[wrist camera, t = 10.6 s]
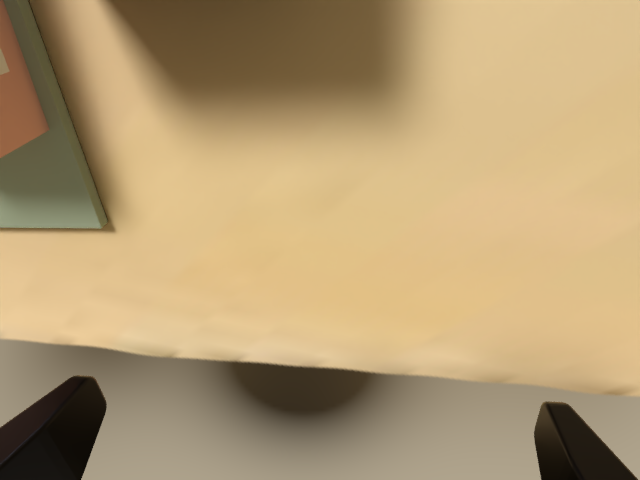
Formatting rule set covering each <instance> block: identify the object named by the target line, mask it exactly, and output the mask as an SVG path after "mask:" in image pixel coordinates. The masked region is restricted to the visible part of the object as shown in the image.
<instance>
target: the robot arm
mask: <svg viewBox="0 0 640 480" xmlns="http://www.w3.org/2000/svg"><path fill="white" fill-rule="evenodd" d="M105 412H106V400H105V397H104V395H103V393H102V391H101V389H100V387H99V385H98V383H97V381H96V379H95V378H94V377H91V376H80V375H77V376H73V377H71V378H69V379H68V380H66V381H65V382H64V383H62V384H61V385H59V386H58V387H57V388H55V389H54V390H52V391H51V392H49V393H48V394H47V395H45V396H44V397H42V398H41V399H40V400H38V401H37V402H36V403H34V404H33V405H31V406H30V407H29V408H27V409H26V410H24V411H23V412H21V413H20V414H19V415H17V416H16V417H14V418H13V419H12V420H10V421H9V422H7V423H6V424H5V425H3V426H2V427H0V480H81V478H82V476H83V473H84V471H85V468H86V465H87V462H88V459H89V457H90V454H91V451H92V448H93V446H94V443H95V440H96V437H97V434H98V432H99V429H100V426H101V424H102V421H103V418H104V415H105ZM534 438H535V445H536V451H537V457H538V463H539V468H540V474H541V480H638V479H637V478H636V477H635V476H634V475H633V474H632V472H631V471H630V470H629V469H628V468H627V467H626V466H625V465H624V464H623V463H622V462H621V461H620V459H619V458H618V457H617V456H616V455H615V454H614V453H613V452H612V451H611V450H610V449H609V448H608V446H606V444H605V443H604V442H603V441H602V440H601V439H600V438H599V437H598V436H597V435H596V433H595V432H594V431H593V430H592V429H591V428H590V427H589V426H588V425H587V424H586V423H585V421H584V420H583V419H582V418H581V417H580V416H579V415H578V414H577V413H576V412H575V411H574V410H573V408H572V407H571V406H569V405H568V404H566V403H563V402H544V403H543V404H542V405H541V409H540V412H539V415H538V419H537V422H536V426H535V431H534Z"/></svg>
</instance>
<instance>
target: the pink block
mask: <svg viewBox="0 0 640 480" xmlns="http://www.w3.org/2000/svg"><path fill="white" fill-rule="evenodd" d="M49 130H50V129H49V127H48V124H47V121H46V118H45V115H44V113H43V110H42V107H41V104H40V101H39V99H38V96H37V93H36V90H35V87H34V85H33V82H32V79H31V76H30V73H29V71H28V68H27V65H26V62H25V60H24V57H23V54H22V51H21V48H20V46H19V43H18V40H17V37H16V34H15V32H14V29H13V26H12V23H11V20H10V18H9V15H8V12H7V9H6V6H5V4H4V1H3V0H0V158H1V157H3V156H5V155H7V154H8V153H10V152H12V151H14V150H15V149H17V148H19V147H21V146H22V145H24V144H26V143H28V142H29V141H31V140H33V139H35V138H36V137H38V136H40V135H42V134H43V133H45V132H47V131H49Z"/></svg>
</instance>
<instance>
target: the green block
mask: <svg viewBox="0 0 640 480" xmlns="http://www.w3.org/2000/svg"><path fill="white" fill-rule="evenodd" d="M3 1H4V4H5V6H6V9H7V12H8V15H9V18H10V20H11V23H12V26H13V29H14V32H15V34H16V37H17V40H18V43H19V46H20V48H21V51H22V54H23V57H24V60H25V62H26V65H27V68H28V71H29V73H30V76H31V79H32V82H33V85H34V87H35V90H36V93H37V96H38V99H39V101H40V104H41V107H42V110H43V113H44V115H45V118H46V121H47V124H48V127H49V129H50V130H49V131H47V132H45V133H43V134H42V135H40V136H38V137H36V138H35V139H33V140H31V141H29V142H28V143H26V144H24V145H22V146H21V147H19V148H17V149H15V150H14V151H12V152H10V153H8V154H7V155H5V156H3V157H1V158H0V228H102V227H103V226H104V225H105V224H106V223H107V222H108V221H107V218H106V215H105V212H104V210H103V207H102V204H101V201H100V199H99V196H98V193H97V190H96V188H95V185H94V182H93V179H92V176H91V174H90V171H89V168H88V165H87V163H86V160H85V157H84V154H83V151H82V149H81V146H80V143H79V140H78V138H77V135H76V132H75V129H74V126H73V124H72V121H71V118H70V115H69V113H68V110H67V107H66V104H65V102H64V99H63V96H62V93H61V90H60V88H59V85H58V82H57V79H56V77H55V74H54V71H53V68H52V65H51V63H50V60H49V57H48V54H47V52H46V49H45V46H44V43H43V40H42V38H41V35H40V32H39V29H38V27H37V24H36V21H35V18H34V16H33V13H32V10H31V7H30V4H29V2H28V0H3Z"/></svg>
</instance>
